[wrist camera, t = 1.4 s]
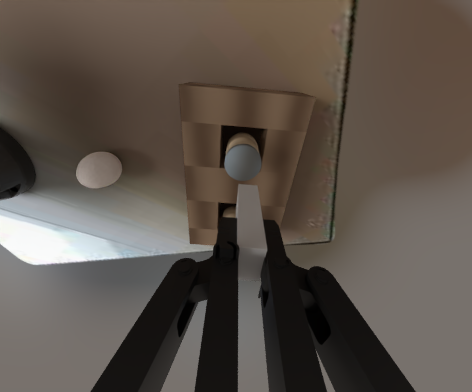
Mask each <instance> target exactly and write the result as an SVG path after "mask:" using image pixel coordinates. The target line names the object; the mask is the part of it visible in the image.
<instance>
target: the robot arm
mask: <svg viewBox="0 0 472 392" xmlns="http://www.w3.org/2000/svg"><path fill="white" fill-rule="evenodd" d="M34 181H35V171H34V167H33V165H32V162H31V160H30V158H29V157H28V155H27V154H26V152H25V151H24V150H23V148H22V147H21V146H20V145H19V144H18V143H17V142H16V141H15V140H14V139H13V138H12V137H11V136H10V135H9V134H7V133H6V132H5V131H3V130H2V129H1V128H0V200H5V199H9V198H12V197H15V196H17V195H19V194H21V193H23V192H25V191H27V190H28V189H30V188H31V187H32V185H33V184H34ZM260 277H261V287H260V291H259V296H258V298H260V297H261V306H262V317H263V328H264V338H265V339H264V340H265V351H266V362H267V373H268V383H269V392H327V390H326V386H325V383H324V379H323V376H322V372H321V368H320V364H319V361H318V357H317V353H318V355H319V357H320V359H321V362H322V364H323V366H324V368H325V370H326V372H327V374H328V376H329V379H330V381H331V383H332V385H333V387H334V390H335V392H415V390H414V389H413V387H412V386H411V385H410V383H409V382H408V380H407V379H406V378H405V376H404V375H403V373H402V372H401V371H400V369H399V368H398V366H397V365H396V364H395V362H394V361H393V359H392V358H391V356H390V355H389V354H388V352H387V351H386V349H385V348H384V347H383V345H382V344H381V343H380V341H379V340H378V338H377V337H376V335H375V334H374V333H373V331H372V330H371V328H370V327H369V326H368V324H367V323H366V321H365V320H364V319H363V317H362V316H361V315H360V313H359V311H358V310H357V309H356V307H355V306H354V304H353V303H352V302H351V300H350V299H349V298H348V296H347V295H346V293H345V292H344V290H343V289H342V288H341V286H340V285H339V283H338V282H337V281H336V279H335V278H334V276H333V275H332V274H331V273H330V272H329V271H328V270H326V269H325V268H322V267H319V266H314V267H312V268H310V269H309V270H307V269H304V268H301V267H298V266H296V265H294V264H293V263H292V262H291V260H290V259H289V258H288V257H287V256H286V253H285V249H284V245H283V241H282V237H281V233H280V229H279V225H278V224H277V223H276V222H275V220H266V219H263V218H262V212H261V205H260V199H259V192H258V186H257V185H244V184H239V185H238V195H237V204H236V218H233V217H222V219H221V220H220V221H219V226H218V233H217V240H216V244H215V245H214V248H213V256H211V257H210V258H209V259H207V260H204V261H200V262H195V260H193V259H191V258H184V259H180V260H178V261H176V262H175V263H174V264H173V265H172V267H171V269H170V270H169V272H168V273H167V275H166V276H165V278H164V280H163V281H162V282H161V284H160V286H159V287H158V289H157V290H156V292H155V293H154V295H153V296H152V298H151V299H150V301H149V302H148V304H147V306H146V307H145V309H144V310H143V312H142V313H141V315H140V316H139V318H138V320H137V321H136V322H135V324H134V326H133V327H132V329H131V330H130V332H129V333H128V335H127V336H126V338H125V340H124V341H123V342H122V344H121V346H120V347H119V349H118V350H117V352H116V354H115V355H114V356H113V358H112V359H111V361H110V363H109V364H108V366H107V367H106V369H105V370H104V372H103V373H102V375H101V377H100V378H99V380H98V381H97V383H96V384H95V386H94V387H93V389H92V390H91V392H160V391H161V389H162V387H163V384H164V382H165V379H166V377H167V375H168V372H169V370H170V368H171V365H172V363H173V361H174V358H175V356H176V354H177V351H178V349H179V347H180V344H181V342H182V340H183V337H184V335H185V333H186V330H187V328H188V325H189V323H190V321H191V318H192V316H193V314H194V311H195V309H196V307H197V304H198V302H200V301H203V300H207V306H206V313H205V321H204V328H203V335H202V342H201V349H200V356H199V363H198V370H197V377H196V385H195V392H238V280H252V281H259V280H260ZM316 351H317V353H316Z"/></svg>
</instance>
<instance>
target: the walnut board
mask: <svg viewBox="0 0 472 392" xmlns="http://www.w3.org/2000/svg"><path fill="white" fill-rule="evenodd" d="M179 96H180V110H181V124H182V138H183V152H184V166H185V180H186V194H187V208H188V222H189V236H190V244H201V245H215V244H216V240H217V233H218V226H219V221H220V220H221V219H222V217H223V213H224V211H225V210H220V202H221V203H234V204H237V195H238V185H239V184H244V185H257V186H258V192H259V199H260V205H261V212H262V218H263V219H266V220H275V222H276V223H277V224H278V225H279V229H280V226H281V222H282V219H283V215H284V212H285V208H286V204H287V201H288V197H289V193H290V190H291V186H292V183H293V179H294V175H295V172H296V168H297V165H298V161H299V157H300V154H301V150H302V147H303V143H304V139H305V136H306V132H307V128H308V125H309V121H310V118H311V114H312V110H313V107H314V103H315V100H316V97H313V96H310V95H306V94H303V93H296V92H286V91H275V90H265V89H254V88H243V87H233V86H222V85H212V84H201V83H185V84H179ZM224 125H229V126H240V127H252V128H262V129H261V136H260V142H259V149H258V150H259V154H260V158H261V169H260V171H259V173H258V174H257V175H256V176H255V177H254V178H252V179H250V180H246V181H239V180H236V179H233V178H232V177H230V176H229V175H228V173H227V172H226V170H225V165H224V163H225V156H226V154H224V153H222V152H223V129H224Z"/></svg>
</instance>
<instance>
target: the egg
mask: <svg viewBox="0 0 472 392" xmlns="http://www.w3.org/2000/svg"><path fill="white" fill-rule="evenodd" d="M121 173H122V164H121V162H120V160H119V159H118V158H117V157H116V156H115V155H113V154H111V153H108V152H94V153H91V154H89V155H87V156H85V157H84V158H83V159H82V160H81V161H80V163H79V164H78V167H77V169H76V177H77V179H78V181H79V182H80V183H81V184H82V185H84V186H86V187H88V188H103V187H107V186H109V185H111V184H113V183H114V182H116V181H117V180H118V179H119V177H120V175H121Z"/></svg>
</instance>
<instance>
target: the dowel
mask: <svg viewBox="0 0 472 392" xmlns="http://www.w3.org/2000/svg"><path fill="white" fill-rule="evenodd" d="M223 217H233V218H236V206H230V207H228V208H227V209H225V211H224V213H223Z"/></svg>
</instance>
